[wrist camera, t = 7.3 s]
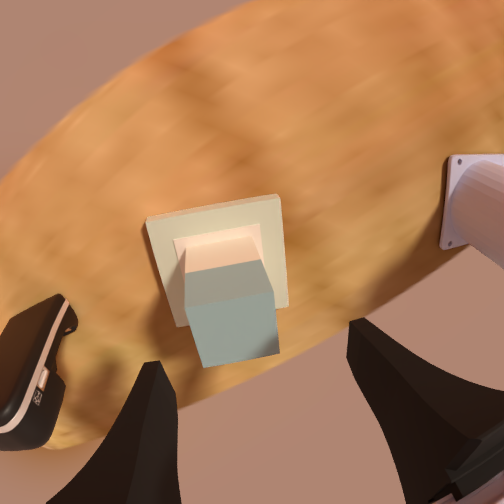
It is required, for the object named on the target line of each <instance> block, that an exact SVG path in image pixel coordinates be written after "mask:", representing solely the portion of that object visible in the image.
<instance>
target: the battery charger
mask: <svg viewBox="0 0 504 504" xmlns="http://www.w3.org/2000/svg"><path fill="white" fill-rule="evenodd" d="M77 326H78V319H77V316H76V314H75V312H74V310H73V309H72V308H71V306H70V305H69V302H68V300H67V299H66V298H64V297H63V296H62V295H61V294H56V295H54V296H52V297H50V298H48V299H46V300H44V301H42V302H40V303H38V304H36V305H34V306H32V307H30V308H28V309H27V310H25V311H23V312H21V313H19V314H17V315H16V316H14V317H12V318H11V319H10V320H9V322H8V323H7V325H6V327H5V328H4V330H3V332H2V334H1V335H0V450H1V451H21V450H30V449H35V448H39V447H41V446H43V445H44V444H45V443H46V442H47V441H48V440H49V438H50V437H51V435H52V432H53V430H54V427H55V424H56V421H57V418H58V414H59V411H60V408H61V405H62V401H63V396H64V392H65V387H66V385H65V383H64V381H63V380H62V379H61V378H60V377H59V376H58V375H57V374H56V371H57V367H56V358H55V356H56V353H57V350H58V348H59V345H60V342H61V339H62V337H63V336H65V335H67V334H69V333H71V332H73V331H75V330H76V328H77Z"/></svg>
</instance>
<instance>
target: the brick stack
mask: <svg viewBox="0 0 504 504" xmlns="http://www.w3.org/2000/svg"><path fill="white" fill-rule="evenodd" d="M184 308H185V311H186V315H187V318H188V321H189V325H190V328H191V331H192V334H193V337H194V340H195V344H196V347H197V350H198V353H199V356H200V359H201V362H202V365H203V368H206V367H212V366H218V365H224V364H229V363H235V362H240V361H245V360H250V359H255V358H260V357H265V356H270V355H274V354H279V353H280V351H279V340H278V330H277V319H276V309H275V299H274V291H273V288H272V286H271V283H270V281H269V278H268V276H267V273H266V271H265V268H264V266H263V263H262V261H261V258H260V256H259V253H258V251H257V248H256V246H255V243H254V241H253V238H252V236H247V237H241V238H235V239H230V240H225V241H219V242H214V243H208V244H203V245H198V246H192V247H187V248H186V257H185V306H184Z"/></svg>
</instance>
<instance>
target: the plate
mask: <svg viewBox="0 0 504 504" xmlns="http://www.w3.org/2000/svg"><path fill="white" fill-rule="evenodd" d="M145 223H146V227H147V231H148V234H149V238H150V242H151V245H152V249H153V252H154V256H155V259H156V263H157V266H158V270H159V273H160V276H161V280H162V283H163V286H164V289H165V293H166V296H167V299H168V302H169V305H170V308H171V311H172V314H173V317H174V320H175V323H176V326H177V327H183V326H189V321H188V318H187V315H186V311H185V308H184V306H185V257H186V248H187V247H192V246H198V245H203V244H208V243H214V242H219V241H225V240H230V239H235V238H241V237H247V236H252V238H253V241H254V243H255V246H256V248H257V251H258V253H259V256H260V258H261V261H262V263H263V266H264V268H265V271H266V273H267V276H268V278H269V281H270V283H271V286H272V288H273V291H274V299H275V309H279V308H284V307H288V306H289V303H288V288H287V274H286V261H285V249H284V236H283V224H282V213H281V202H280V197H279V196H278V195H277V194H270V195H264V196H258V197H252V198H246V199H240V200H234V201H228V202H223V203H217V204H211V205H206V206H201V207H195V208H190V209H185V210H179V211H174V212H169V213H164V214H159V215H154V216H150V217H147V219H146V222H145Z"/></svg>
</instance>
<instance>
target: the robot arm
mask: <svg viewBox="0 0 504 504" xmlns="http://www.w3.org/2000/svg"><path fill="white" fill-rule="evenodd" d="M458 160H459V162H458ZM448 243H449V244H448ZM466 244H470V245H472V246H473V247H475V248H476V249H477V250H479V251H480V252H481V253H483V254H484V255H485V256H487V257H488V258H490V259H491V260H492V261H493V262H495V263H496V264H497V265H499V266H500V267H501V268H502V269H504V154H461V155H451V156H450V157H449V160H448V173H447V186H446V197H445V207H444V215H443V223H442V231H441V237H440V244H439V246H440V248H441V249H443V250H447V249H450V248H454V247H458V246H462V245H466ZM346 358H347V360H348V363H349V366H350V368H351V371H352V373H353V376H354V378H355V380H356V382H357V384H358V386H359V387H360V389H361V391H362V393H363V395H364V397H365V398H366V400H367V402H368V404H369V405H370V407H371V409H372V411H373V413H374V414H375V416H376V418H377V420H378V422H379V424H380V426H381V428H382V431H383V433H384V436H385V438H386V440H387V443H388V445H389V448H390V451H391V454H392V457H393V460H394V463H395V465H396V469H397V472H398V475H399V478H400V482H401V485H402V489H403V493H404V497H405V501H406V504H504V391H500V390H495V389H491V388H488V387H485V386H481V385H478V384H475V383H472V382H469V381H467V380H464V379H462V378H459V377H457V376H455V375H452V374H450V373H448V372H445V371H444V370H442V369H440V368H438V367H436V366H434V365H432V364H430V363H428V362H427V361H425V360H423V359H422V358H420V357H419V356H417V355H415V354H414V353H412V352H411V351H409V350H408V349H406V348H405V347H404V346H402V345H401V344H399V343H398V342H396V341H395V340H394V339H392V338H391V337H390V336H388V335H387V334H385V333H384V332H383V331H382V330H380V329H379V328H378V327H376V326H375V325H374V324H372V323H371V322H369V321H368V320H367V319H365V318H364V317H363V318H360V319H356V320H352V321H350V322H349V335H348V346H347V356H346ZM177 433H178V414H177V403H176V393H175V391H174V389H173V387H172V385H171V383H170V381H169V379H168V377H167V375H166V373H165V371H164V368H163V366H162V364H161V362H160V361H152V362H145V363H144V364H143V366H142V368H141V370H140V372H139V375H138V377H137V379H136V381H135V383H134V386H133V388H132V390H131V392H130V394H129V396H128V398H127V400H126V402H125V404H124V406H123V408H122V410H121V412H120V414H119V415H118V417H117V419H116V421H115V422H114V424H113V426H112V428H111V429H110V431H109V433H108V434H107V436H106V437H105V439H104V440H103V442H102V443H101V445H100V446H99V448H98V449H97V450H96V452H95V453H94V454H93V456H92V457H91V458H90V460H89V461H88V462H87V463H86V465H85V466H84V467H83V468H82V469H81V470H80V471H79V472H78V474H77V475H76V476H75V477H74V478H73V479H72V480H71V481H70V482H69V483H68V484H67V485H66V486H65V487H64V488H63V489H62V490H60V491H59V492H58V493H57V494H56V495H55V496H54V497H53V498H51V499H50V500H49V501H47V502H46V504H181V497H180V490H179V482H178V473H177V436H178V435H177Z"/></svg>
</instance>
